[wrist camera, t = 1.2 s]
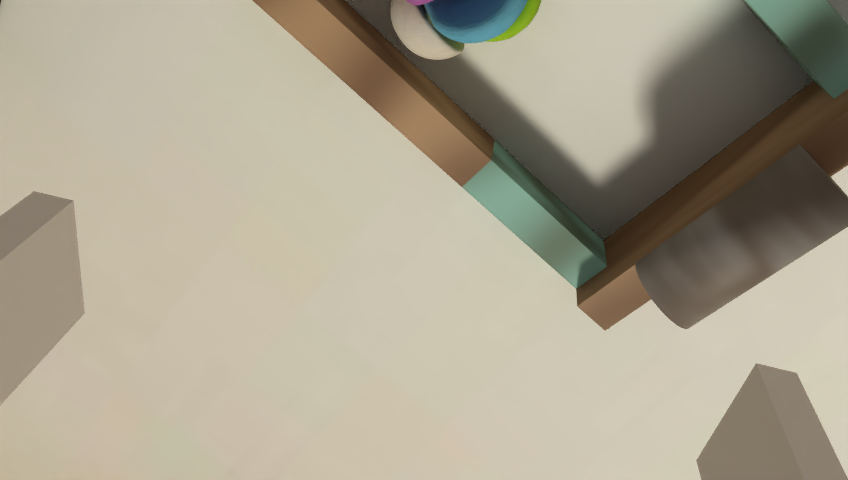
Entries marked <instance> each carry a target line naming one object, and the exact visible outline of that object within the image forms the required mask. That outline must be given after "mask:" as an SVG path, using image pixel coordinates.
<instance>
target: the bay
mask: <svg viewBox="0 0 848 480" xmlns="http://www.w3.org/2000/svg"><path fill="white" fill-rule="evenodd" d="M253 1H254V2H255V3H256V4H257V5H258V6H259V7H261V8H262V9H263V10H264V11H265V12H266V13H267V14H268V15H270V16H271V17H272V18H273V19H274V20H275V21H276V22H277V23H279V24H280V25H281V26H282V27H283V28H284V29H285V30H286V31H287V32H289V33H290V34H291V35H292V36H293V37H294V38H295V39H296V40H298V41H299V42H300V43H301V44H302V45H303V46H304V47H305V48H307V49H308V50H309V51H310V52H311V53H312V54H313V55H314V56H316V57H317V58H318V59H319V60H320V61H321V62H322V63H323V64H325V65H326V66H327V67H328V68H329V69H330V70H331V71H332V72H334V73H335V74H336V75H337V76H338V77H339V78H340V79H341V80H342V81H344V82H345V83H346V84H347V85H348V86H349V87H350V88H351V89H353V90H354V91H355V92H356V93H357V94H358V95H359V96H360V97H362V98H363V99H364V100H365V101H366V102H367V103H368V104H369V105H371V106H372V107H373V108H374V109H375V110H376V111H377V112H378V113H380V114H381V115H382V116H383V117H384V118H385V119H386V120H387V121H388V122H390V123H391V124H392V125H393V126H394V127H395V128H396V129H397V130H399V131H400V132H401V133H402V134H403V135H404V136H405V137H406V138H408V139H409V140H410V141H411V142H412V143H413V144H414V145H415V146H417V147H418V148H419V149H420V150H421V151H422V152H423V153H424V154H426V155H427V156H428V157H429V158H430V159H431V160H432V161H433V162H434V163H436V164H437V165H438V166H439V167H440V168H441V169H442V170H443V171H445V172H446V173H447V174H448V175H449V176H450V177H451V178H452V179H454V180H455V181H456V182H457V183H458V184H459V185H460V186H461V187H463V188H464V189H465V190H466V191H467V192H468V193H469V194H470V195H472V196H473V197H474V198H475V199H476V200H477V201H478V202H479V203H480V204H482V205H483V206H484V207H485V208H486V209H487V210H488V211H489V212H491V213H492V214H493V215H494V216H495V217H496V218H497V219H498V220H500V221H501V222H502V223H503V224H504V225H505V226H506V227H507V228H509V229H510V230H511V231H512V232H513V233H514V234H515V235H516V236H518V237H519V238H520V239H521V240H522V241H523V242H524V243H525V244H527V245H528V246H529V247H530V248H531V249H532V250H533V251H534V252H535V253H537V254H538V255H539V256H540V257H541V258H542V259H543V260H544V261H546V262H547V263H548V264H549V265H550V266H551V267H552V268H553V269H555V270H556V271H557V272H558V273H559V274H560V275H561V276H562V277H564V278H565V279H566V280H567V281H568V282H569V283H570V284H571V285H573V286H574V287H575V288H576V291H577V306H578V307H579V308H580V309H581V310H582V311H583V312H585V313H586V314H587V315H588V316H589V317H590V318H591V319H593V320H594V321H595V322H596V323H597V324H598V325H599V326H600V327H602V328H603V329H604V330H607V329H608V328H610V327H611V326H612V325H614V324H615V323H617V322H618V321H620V320H621V319H623V318H624V317H626V316H627V315H629V314H630V313H632V312H633V311H634V310H636V309H637V308H639V307H640V306H642V305H643V304H645V303H646V302H648V301H649V300H651V299H652V300H653V301H654V303H655V304H656V305H657V306H658V308H659V309H660V310H661V311H662V312H663V313H664V314H665V315H666V316H667V317H668V318H669V319H670V320H671V321H672V322H674V323H675V324H676V325H678V326H680V327H681V328H684V329H688V328H690V327H691V326H693V325H694V324H696V323H697V322H699V321H701V320H702V319H704V318H705V317H707V316H708V315H710V314H712V313H713V312H715V311H716V310H718V309H719V308H721V307H723V306H724V305H726V304H727V303H729V302H730V301H732V300H733V299H735V298H737V297H738V296H740V295H741V294H743V293H744V292H746V291H748V290H749V289H751V288H752V287H754V286H755V285H757V284H759V283H760V282H762V281H763V280H765V279H766V278H768V277H770V276H771V275H773V274H774V273H776V272H777V271H779V270H781V269H782V268H784V267H785V266H787V265H788V264H790V263H792V262H793V261H795V260H796V259H798V258H799V257H801V256H803V255H804V254H806V253H807V252H809V251H810V250H812V249H814V248H815V247H817V246H818V245H820V244H821V243H823V242H824V241H826V240H828V239H829V238H831V237H832V236H834V235H835V234H837V233H839V232H840V231H842V230H843V229H845V228H846V227H848V196H847V195H846V194H845V193H844V192H843V191H842V189H841V188H840V187H839V186H838V185H837V184H836V183H835V182H834V180H833V179H832V178H831V176H832V175H834V174H835V173H837V172H838V171H840V170H841V169H843V168H844V167H846V166H847V165H848V25H847V24H846V23H845V21H844V20H843V19H842V18H841V17H840V16H839V14H838V13H837V12H836V11H835V10H834V8H833V7H832V6H831V5H830V4H829V2H828V1H827V0H743V1H744V2H745V4H746V5H747V6H748V7H749V8H750V9H751V10H752V11H753V13H754V14H755V15H756V16H757V17H758V18H759V19H760V20H761V22H762V23H763V24H764V25H765V26H766V27H767V28H768V29H769V31H770V32H771V33H772V34H773V35H774V36H775V37H776V39H777V40H778V41H779V42H780V43H781V44H782V45H783V46H784V48H785V49H786V50H787V51H788V52H789V53H790V54H791V55H792V57H793V58H794V59H795V60H796V61H797V62H798V63H799V65H800V66H801V67H802V68H803V69H804V70H805V71H806V72H807V74H808V75H809V76H810V77H811V78H812V79H813V80H814V81H813V82H811V83H810V84H809V85H807V86H806V87H805V88H804V89H802V90H801V91H800V92H798V93H797V94H796V95H794V96H793V97H792V98H790V99H789V100H788V101H786V102H785V103H784V104H783V105H781V106H780V107H779V108H777V109H776V110H775V111H773V112H772V113H771V114H769V115H768V116H767V117H765V118H764V119H763V120H762V121H760V122H759V123H758V124H756V125H755V126H754V127H752V128H751V129H750V130H748V131H747V132H746V133H745V134H743V135H742V136H741V137H739V138H738V139H737V140H735V141H734V142H733V143H731V144H730V145H729V146H727V147H726V148H725V149H724V150H722V151H721V152H720V153H718V154H717V155H716V156H714V157H713V158H712V159H710V160H709V161H708V162H706V163H705V164H704V165H703V166H701V167H700V168H699V169H697V170H696V171H695V172H693V173H692V174H691V175H689V176H688V177H687V178H685V179H684V180H683V181H682V182H680V183H679V184H678V185H676V186H675V187H674V188H672V189H671V190H670V191H668V192H667V193H666V194H665V195H663V196H662V197H661V198H659V199H658V200H657V201H655V202H654V203H653V204H651V205H650V206H649V207H647V208H646V209H645V210H644V211H642V212H641V213H640V214H638V215H637V216H636V217H634V218H633V219H632V220H630V221H629V222H628V223H626V224H625V225H624V226H623V227H621V228H620V229H619V230H617V231H616V232H615V233H613V234H612V235H611V236H609V237H608V238H607V239H605V240H604V241H603V240H602V239H601V238H600V237H599V236H598V235H597V234H596V233H594V232H593V231H592V230H591V229H590V228H589V227H588V226H587V225H586V224H585V223H584V222H583V221H582V220H580V219H579V218H578V217H577V216H576V215H575V214H574V213H573V212H572V211H571V210H570V209H569V208H568V207H566V206H565V205H564V204H563V203H562V202H561V201H560V200H559V199H558V198H557V197H556V196H555V195H553V194H552V193H551V192H550V191H549V190H548V189H547V188H546V187H545V186H544V185H543V184H542V183H541V182H539V181H538V180H537V179H536V178H535V177H534V176H533V175H532V174H531V173H530V172H529V171H528V170H527V169H525V168H524V167H523V166H522V165H521V164H520V163H519V162H518V161H517V160H516V159H515V158H514V157H513V156H511V155H510V154H509V153H508V152H507V151H506V150H505V149H504V148H503V147H502V146H501V145H500V144H499V143H497V142H496V141H495V140H494V139H493V138H492V137H491V136H490V135H489V134H488V133H487V132H486V131H485V130H483V129H482V128H481V127H480V126H479V125H478V124H477V123H476V122H475V121H474V120H473V119H472V118H471V117H469V116H468V115H467V114H466V113H465V112H464V111H463V110H462V109H461V108H460V107H459V106H458V105H457V104H455V103H454V102H453V101H452V100H451V99H450V98H449V97H448V96H447V95H446V94H445V93H444V92H442V91H441V90H440V89H439V88H438V87H437V86H436V85H435V84H434V83H433V82H432V81H431V80H430V79H428V78H427V77H426V76H425V75H424V74H423V73H422V72H421V71H420V70H419V69H418V68H417V67H416V66H414V65H413V64H412V63H411V62H410V61H409V60H408V59H407V58H406V57H405V56H404V55H403V54H402V53H400V52H399V51H398V50H397V49H396V48H395V47H394V46H393V45H392V44H391V43H390V42H389V41H388V40H386V39H385V38H384V37H383V36H382V35H381V34H380V33H379V32H378V31H377V30H376V29H375V28H374V27H372V26H371V25H370V24H369V23H368V22H367V21H366V20H365V19H364V18H363V17H362V16H361V15H360V14H358V13H357V12H356V11H355V10H354V9H353V8H352V7H351V6H350V5H349V4H348V3H347V2H345V1H344V0H253Z"/></svg>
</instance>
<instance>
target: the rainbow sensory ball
mask: <svg viewBox="0 0 848 480" xmlns="http://www.w3.org/2000/svg"><path fill="white" fill-rule="evenodd" d="M540 3H541V0H391V9H390V13H391V21H392V24H393V27H394V30H395V32H396V33H397V35H398V37H399V38H400V40H401V41H402V42H403V44H404V45H405V46H406V47H407V48H408V49H409V50H410V51H412V52H413V53H415V54H417V55H419V56H421V57H424V58H427V59H433V60H442V59H447V58H451V57H454V56H456V55H458V54H460V53H461V52H462V51H463V49H464V43H478V42H484V41H488V42H494V41H501V40H505V39H509V38H511V37H513V36H515V35H516V34H518V33H519V32H520V31H522V30H523V29H524V28H526V27H527V26H528V25H529V24H530V22H531V21H532V20H533V18H534V16H535V15H536V13H537V11H538V9H539V6H540Z"/></svg>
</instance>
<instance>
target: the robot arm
mask: <svg viewBox="0 0 848 480" xmlns="http://www.w3.org/2000/svg"><path fill="white" fill-rule="evenodd" d="M0 2H1V0H0ZM83 314H84V303H83V293H82V283H81V272H80V262H79V252H78V242H77V232H76V222H75V212H74V202H73V200H68V199H64V198H60V197H56V196H52V195H47V194H43V193H39V192H35V191H34V192H32V193H31V194H30V195H28V196H27V197H26V198H24V199H23V200H22V201H20V202H19V203H18V204H16V205H15V206H14V207H12V208H11V209H9V210H8V211H7V212H5V213H4V214H3V215H1V216H0V405H1V404H2V403H3V402H4V401H5V400H6V399H7V397H8V396H9V395H10V394H11V393H12V392H13V391H14V390H15V389H16V388H17V387H18V385H19V384H20V383H21V382H22V381H23V380H24V379H25V378H26V377H27V376H28V374H29V373H30V372H31V371H32V370H33V369H34V368H35V367H36V366H37V365H38V364H39V362H40V361H41V360H42V359H43V358H44V357H45V356H46V355H47V354H48V353H49V352H50V350H51V349H52V348H53V347H54V346H55V345H56V344H57V343H58V342H59V341H60V339H61V338H62V337H63V336H64V335H65V334H66V333H67V332H68V331H69V330H70V329H71V327H72V326H73V325H74V324H75V323H76V322H77V321H78V320H79V319H80V318H81V316H82V315H83ZM697 464H698V468H699V472H700V476H701V479H702V480H848V479H847V476H846V474H845V472H844V470H843V468H842V466H841V464H840V462H839V460H838V458H837V456H836V454H835V452H834V450H833V447H832V445H831V443H830V441H829V439H828V437H827V435H826V433H825V431H824V429H823V427H822V425H821V423H820V421H819V418H818V416H817V414H816V412H815V410H814V408H813V406H812V404H811V402H810V400H809V398H808V396H807V394H806V392H805V389H804V387H803V385H802V383H801V381H800V379H799V377H798V375H797V373H794V372H790V371H786V370H782V369H777V368H773V367H769V366H765V365H761V364H756V365H755V366H754V368H753V369H752V371H751V373H750V374H749V376H748V378H747V379H746V381H745V382H744V384H743V386H742V387H741V389H740V391H739V392H738V394H737V395H736V397H735V399H734V400H733V402H732V404H731V405H730V407H729V408H728V410H727V412H726V413H725V415H724V417H723V418H722V420H721V421H720V423H719V425H718V426H717V428H716V430H715V431H714V433H713V434H712V436H711V438H710V439H709V441H708V442H707V444H706V446H705V447H704V449H703V451H702V452H701V454H700V455H699V457H698V459H697Z"/></svg>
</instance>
